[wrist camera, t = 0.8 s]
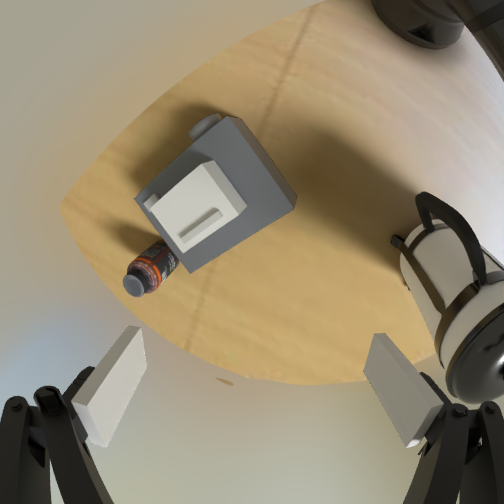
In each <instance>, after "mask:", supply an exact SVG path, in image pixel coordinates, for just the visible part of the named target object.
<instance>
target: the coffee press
mask: <svg viewBox="0 0 504 504" xmlns="http://www.w3.org/2000/svg"><path fill="white" fill-rule="evenodd" d="M415 201H416V205H417V209H418V212H419V215H420V218H421V220H422V223H423V224H421V225H419V226H418V227H417V228H415V229H414V230H413V231H412V232H411V233H410V235H409V236H408V237H407V239H406V240H405V239H403V238H401V237H400V236H398V235H395V234H393V236H392V239H391V241H390V243H391V244H392V245H393V246H395V247H396V248H398V249H399V250H400V251H401V255H400V268H401V272H402V275H403V277H404V279H405V281H406V283H407V285H408V290H410V291H411V293H412V295H413V297H414V299H415V301H416V303H417V305H418V307H419V309H420V311H421V314H422V316H423V318H424V320H425V322H426V324H427V327H428V329H429V331H430V334H431V336H432V338H433V341H434V345H435V350H436V353H437V356H438V358H439V361H440V363H441V365H442V367H443V368H444V369H445V371H446V378H445V379H446V385H447V388H448V391H449V392H450V394H451V395H452V396H454V397H456V398H458V399H460V400H461V401H463V402H465V403H467V404H482V403H483V402H484V401H492V400H494V399H497V398H499V397H500V396H502V395H504V265H502V264H501V263H500V262H499V261H498V260H497V259H496V258H495V257H494V256H493V255H492V254H490V253H489V252H488V251H487V250H486V249H485V248H484V247H483V246H481V245H480V244H479V241H478V239H477V237H476V235H475V233H474V231H473V230H472V228H471V227H470V225H469V224H468V222H467V221H466V220H465V219H464V217H463V216H462V215H461V214H460V213H459V212H458V211H456V210H455V209H454V208H452V207H451V206H450V205H448V204H447V203H445V202H443V201H442V200H440V199H438V198H437V197H435V196H433V195H432V194H430V193H428V192H421V193H420V194H418V195H416V197H415ZM429 211H430V212H431V213H432V214H434V215H435V216H436V217H437V218H439V220H431V217H430V214H429Z"/></svg>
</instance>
